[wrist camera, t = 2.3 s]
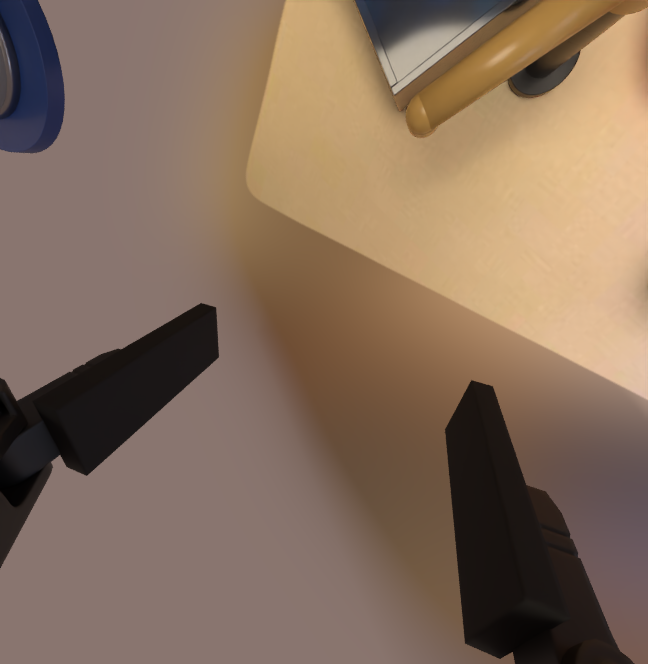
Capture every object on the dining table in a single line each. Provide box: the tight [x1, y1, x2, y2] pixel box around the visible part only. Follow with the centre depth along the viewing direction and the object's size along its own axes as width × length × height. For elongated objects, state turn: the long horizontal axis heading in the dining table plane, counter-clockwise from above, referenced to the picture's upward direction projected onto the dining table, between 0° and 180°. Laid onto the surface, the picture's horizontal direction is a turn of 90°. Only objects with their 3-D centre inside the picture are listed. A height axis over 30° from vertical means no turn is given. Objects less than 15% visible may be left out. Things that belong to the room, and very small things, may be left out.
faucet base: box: [508, 12, 625, 98], centre depth 18 cm, size 5×5×13 cm
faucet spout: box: [406, 0, 648, 138], centre depth 14 cm, size 13×3×3 cm, turn 121°
